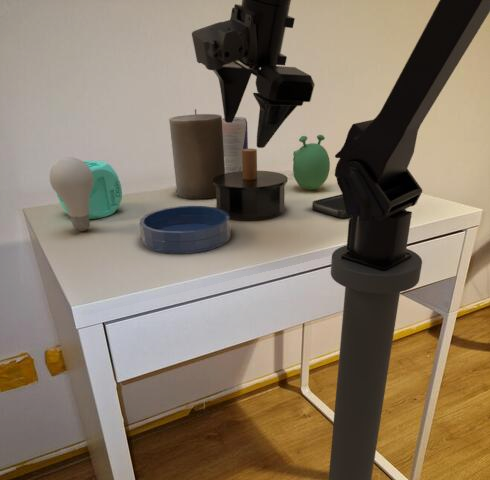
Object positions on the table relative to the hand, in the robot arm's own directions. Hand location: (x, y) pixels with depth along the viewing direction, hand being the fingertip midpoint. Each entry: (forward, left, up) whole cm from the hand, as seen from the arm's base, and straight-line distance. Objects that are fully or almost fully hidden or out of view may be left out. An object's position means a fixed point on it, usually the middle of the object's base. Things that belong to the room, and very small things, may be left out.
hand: (243, 134), depth 65 cm
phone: (-6, -21, -13) cm, 25 cm away
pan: (+3, +9, -13) cm, 17 cm away
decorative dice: (+26, +12, -14) cm, 32 cm away
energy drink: (+26, -22, -14) cm, 37 cm away
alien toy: (+8, -25, -14) cm, 29 cm away
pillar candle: (+22, -9, -14) cm, 27 cm away
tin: (+6, -7, -13) cm, 16 cm away
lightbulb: (+18, +18, -14) cm, 29 cm away
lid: (+6, -7, -9) cm, 12 cm away
